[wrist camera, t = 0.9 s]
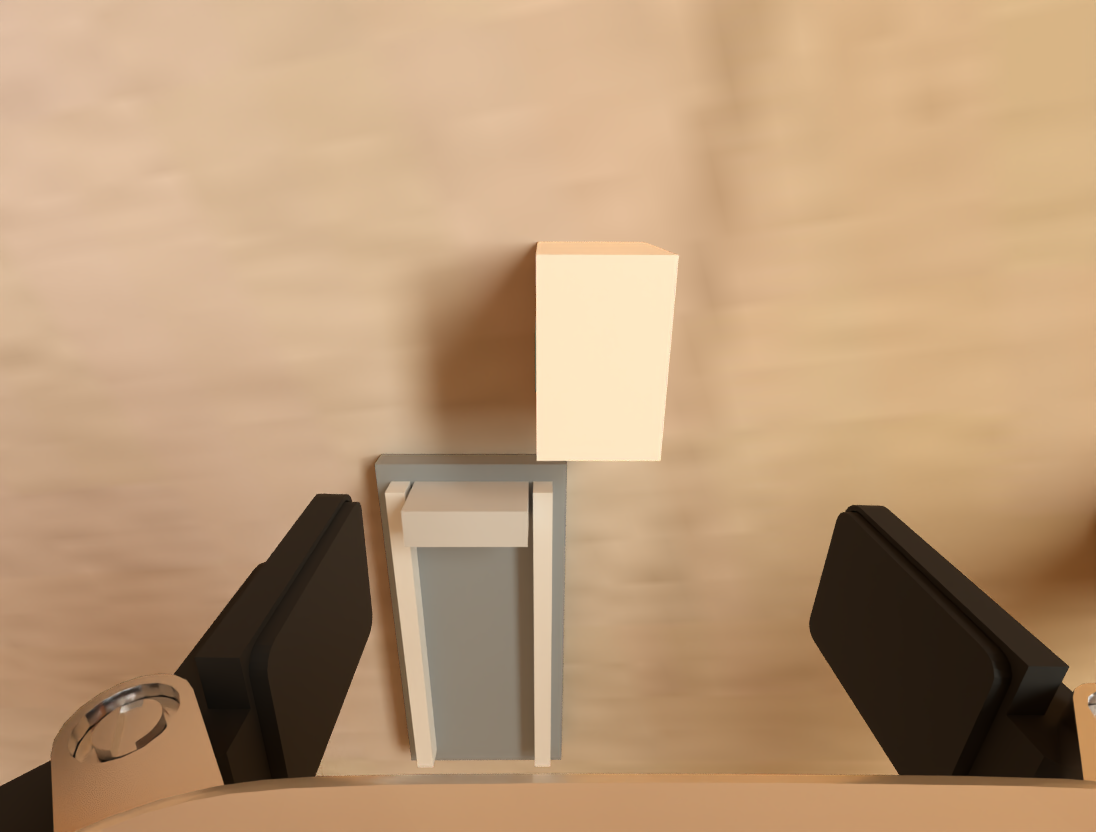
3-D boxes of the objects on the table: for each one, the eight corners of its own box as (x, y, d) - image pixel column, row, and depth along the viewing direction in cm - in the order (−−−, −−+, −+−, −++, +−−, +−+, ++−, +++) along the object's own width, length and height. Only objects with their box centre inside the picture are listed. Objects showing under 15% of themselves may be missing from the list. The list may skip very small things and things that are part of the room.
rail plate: (566, 454, 29) (569, 493, 25) (560, 743, 37) (562, 806, 33) (381, 454, 29) (355, 493, 25) (415, 743, 37) (400, 806, 33)
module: (645, 241, 25) (680, 255, 19) (634, 401, 28) (661, 460, 22) (536, 241, 25) (534, 254, 19) (537, 401, 28) (535, 460, 22)
